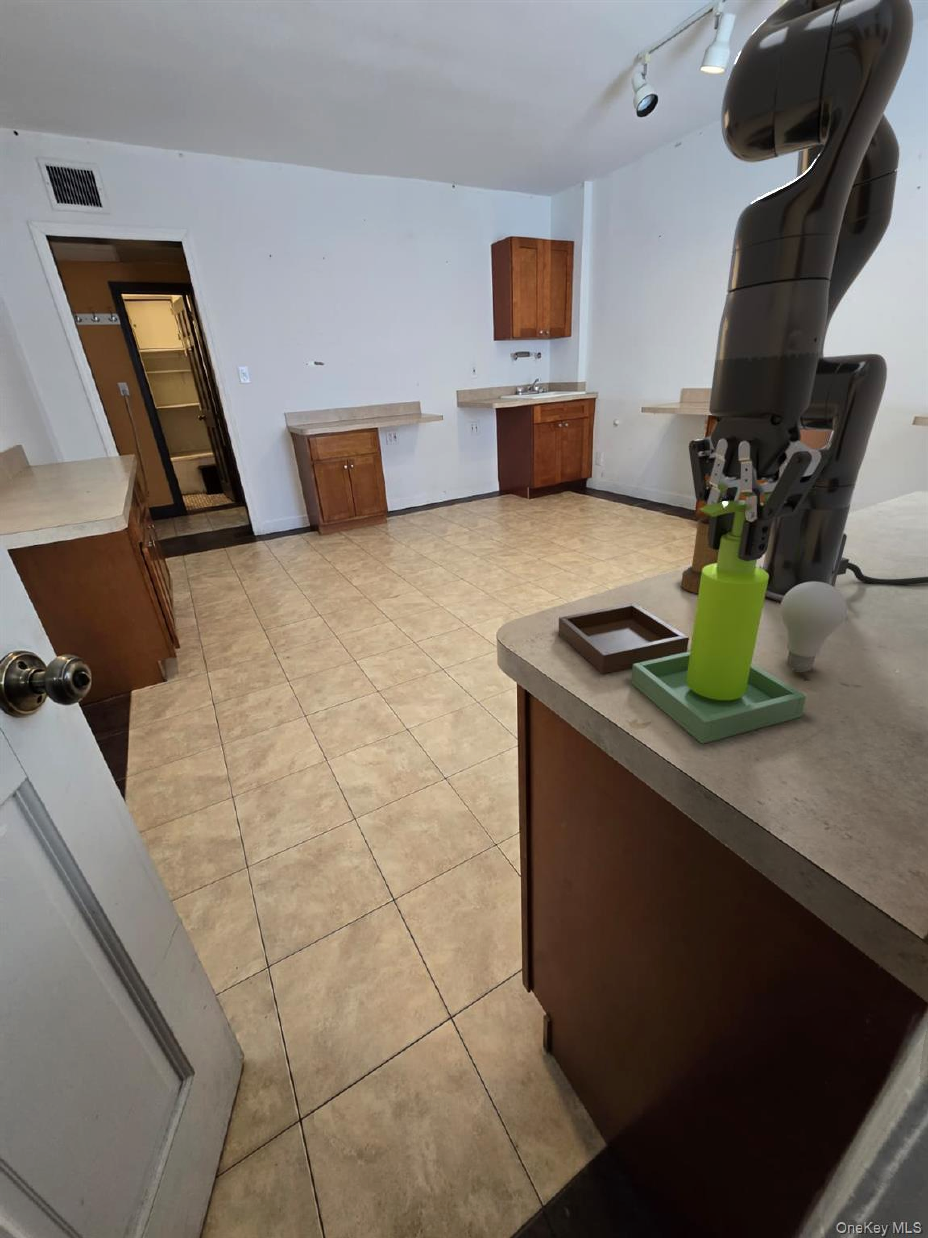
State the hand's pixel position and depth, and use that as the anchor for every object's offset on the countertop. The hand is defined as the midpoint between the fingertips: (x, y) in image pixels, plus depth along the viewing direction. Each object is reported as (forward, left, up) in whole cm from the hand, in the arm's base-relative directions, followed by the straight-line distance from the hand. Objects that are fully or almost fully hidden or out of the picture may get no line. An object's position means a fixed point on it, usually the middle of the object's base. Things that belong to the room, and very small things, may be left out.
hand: (733, 552), depth 49 cm
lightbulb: (-13, -1, -17) cm, 21 cm away
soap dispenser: (0, 0, -15) cm, 15 cm away
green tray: (0, 0, -17) cm, 17 cm away
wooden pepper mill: (-21, -27, -17) cm, 38 cm away
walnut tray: (+2, -15, -17) cm, 22 cm away
